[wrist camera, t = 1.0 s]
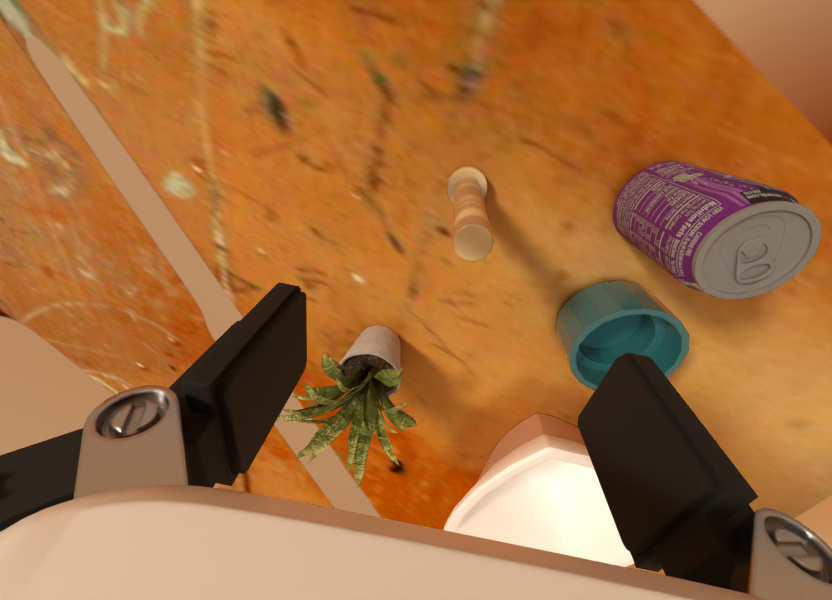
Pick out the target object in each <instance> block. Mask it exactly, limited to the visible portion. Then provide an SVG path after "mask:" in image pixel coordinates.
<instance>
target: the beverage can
mask: <svg viewBox="0 0 832 600" xmlns="http://www.w3.org/2000/svg"><path fill="white" fill-rule="evenodd" d="M613 220H614V224H615V227H616V229H617V230H618V232H619V233H620V234H621V235H622V236H624V237H625V238H626V239H627V240H629V241H630V242H631V243H632V244H634V245H635V246H636V247H637V248H638V249H640V250H641V251H642V252H643V253H645V254H646V255H647V256H648V257H650V258H651V259H652V260H653V261H655V262H656V263H657V264H658V265H660V266H661V267H662V268H663V269H664V270H666V271H667V272H668V273H669V274H671V275H672V276H673V277H674V278H676V279H677V280H678V281H679V282H681V283H682V284H684V285H685V286H687V287H689V288H692V289H694V290H698V291H703V292H706V293H708V294H710V295H712V296H714V297H717V298H721V299H730V300H735V299H745V298H751V297H755V296H758V295H761V294H764V293H767V292H769V291H771V290H773V289H775V288H777V287H779V286H781V285H783V284H784V283H786V282H787V281H789V280H790V279H792V278H793V277H794V276H795V275H797V274H798V273H799V272H800V271H801V270H802V269H803V268H804V267H805V266H806V265H807V264H808V262H809V261H810V260H811V259H812V257H813V256H814V254H815V252H816V250H817V248H818V246H819V243H820V239H821V224H820V221H819V219H818V217H817V216H816V215H815V213H814V212H813V211H811V210H810V209H808V208H807V207H805V206H802V205H800V204H799V202H798V201H797V200H796V199H795V198H794V197H793V196H792V195H791V194H789V193H787V192H786V191H783V190H781V189H779V188H775V187H772V186H768V185H765V184H761V183H757V182H754V181H750V180H746V179H743V178H739V177H735V176H731V175H728V174H724V173H720V172H717V171H713V170H709V169H706V168H702V167H698V166H695V165H691V164H687V163H684V162H679V161H666V162H661V163H657V164H654V165H651V166H649V167H647V168H645V169H643V170H642V171H640V172H639V173H637V174H636V175H635V176H633V177H632V178H631V179H630V180H629V181H628V182H627V183H626V184H625V185H624V187H623V188H622V189H621V191H620V193H619V194H618V196H617V198H616V201H615V204H614V208H613Z"/></svg>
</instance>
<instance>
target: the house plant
mask: <svg viewBox="0 0 832 600" xmlns="http://www.w3.org/2000/svg"><path fill="white" fill-rule="evenodd" d="M327 354H328V352H327ZM328 357H329V361H330V362H329V361H328V360H327V359H326V357H325V356H324V352H323V357H322V368H323V370H324V372H325V373H326V374H327V375H328V376H329V377H330V378H332V379H334V380H336V381H337V385H335V386H328V387H316V388H310V387H309V386H307V385H306V384H304V386H305V388H306V389H304V390H305V391H306V392H307V393H308V395H309V396H293V397H295V398H298V399H302V400H315V401H316V402H318V403H319V404H312V403H308V405H309V406H310V407H309V408H305V409H301V410H289V409H288V410H284V411H287V412H290V413H293V414H291V415H286V416H278V418H277V420H283V421H299V422H303V423H326V424H325V425H324V426H323V427H322V428H321V429H319V430H318V431H317V432H316V433H315V435H314V437H313V438H312V440H311V441H310V443H309V445H307V446H306V447H305V448H304V449H303V450H301V451H300V452H299V453H298V455H297V456H296V457H295V458H299V457H302V456H305V455H308V454H310V453H312V452H313V454H312V456H311V458H310V460H309V462H310V461H312V460H313V459H314V458H315V457H316V456H317V455H319V454H320V453H321V452H322V451H323V450H324V448H325V447H326V446H328V445H329V444H330V443H331V442H332V441H333V440H334V439H335V438H337V437H338V436H339V435H340V434H341V433H342V432H343V430H344V429H345V428H346V427H347V426H348V425H349V423H350V422H351V421H352V425H351V429H350V433H349V438H348V446H349V453H348V462H347V464H348V473H349V471H350V468H351V464H352V461H353V464H354V468H355V480H356V483H357V485H358V486H359V485H360V482H361V479H362V477H363V473H364V468H365V464H366V459H367V454H368V449H369V445H370V441H371V437H372V435H373V434H372V433H373V432H375V431H377V435H378V436H375V435H373V436H374V437H376V438H378V439H379V441H380V443H381V445H382V447H383V449H384V450H385V452H386V454H387V455H388V456H389V458H390V459H391V460H393V461H394V462H395V463H396V464H397V465H399V464H398V461H397V458H396V457H395V455H394V454H393V452H392V447H391V444H390V441H389V439H388V437H387V435H386V432H385V429H384V425H383V422H384V424H385V425H386V426H387V427H388V429H389V430H390V431H391V432H394V433H397V432H396V431H394V430H392V429H391V428H390V427H389V426H388V425H387V423H386V422H385V420H384V418H383V416H382V413H381V410H382V411H385V413H386V415H387V417H388V418H389V420H390V421H391V422H392V423H393V424H394V425H395V426H396V427H397V428H398V429H400V430H402V431H408V430H406V429H405V428H404V427H403V426H406V427H413V426H417V424H416V422H415V420H414V419H413V418H412V417H410V416H409V415H408V414H406V413H405V412H403V411H401V410H400V409H402V408H403V407H404V406H405V404H406V403H407V402H405V403H403V404H401V405H399V406H394V405H393V403H392V402H391V401H390V400H389V398H388V397H390V396H392V395H393V394H394V393H396V391H397V390H398V389H399V387H400V383H401V373H402V370H403V368H404V367H403V368H401V362H400V339H399V337H398V335H397V334H396V333H395V332H394V331H393V330H392V329H390V328H388V327H385V326H378V325H375V326H370V327H368V328H366V329H365V330H364V331H363V332H362V333H361V335H360V336H359V338H358V339H357V340H356V342H355V343H354V344H353V346H352V347H351V348H350V350H349V351H348V352H347V354H346V355H345V356H344V358H343V359H342V360H341V362H340V364H338V363H337V362H335V360H334V359H333V358H332V356H330V355H329V354H328ZM336 368H337V369H338V370H337V369H336ZM347 392H349V393H348V394H347V395H345V396H344V397H343V398H340V397H341V396H343V395H344V394H345V393H347ZM333 396H334V397H333ZM331 397H332V398H331ZM327 398H331V399H327ZM338 398H340V399H338ZM337 399H338V400H337ZM379 400H380V401H381V404H382V406H383V408H382V406H381V404H380V402H379ZM306 402H307V401H306ZM344 404H345V405H344ZM343 405H344V406H343ZM341 406H343V407H342V408H341V409H340V410H339V412H338V413H337V414H336V415H334V416H332V417H330V418H327V419H322V420H303V419H307V418H312V417H315V416H319V415H322V414H324V413H327V412H329V411H332V410H335V409H338V408H339V407H341ZM352 419H353V420H352ZM402 425H403V426H402Z"/></svg>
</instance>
